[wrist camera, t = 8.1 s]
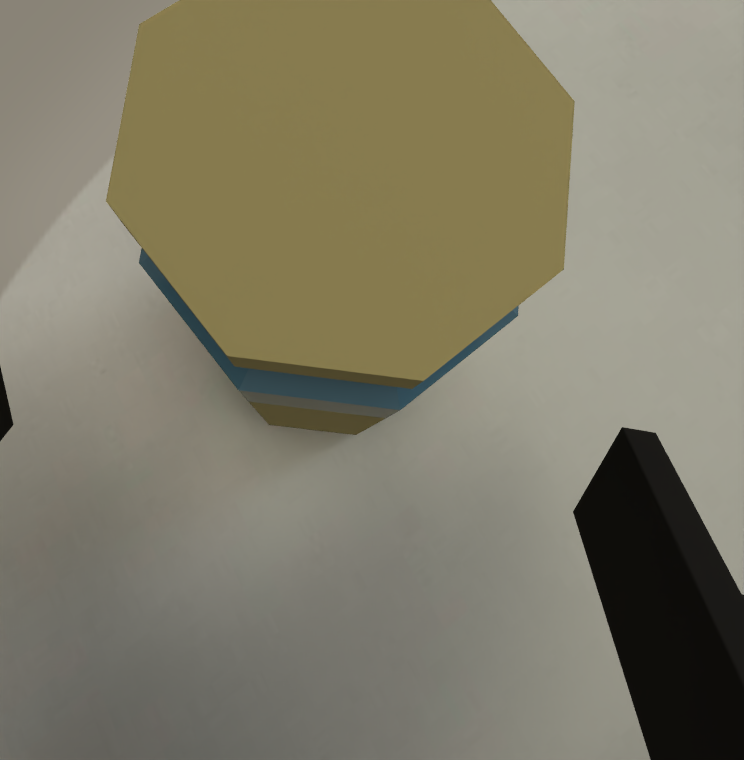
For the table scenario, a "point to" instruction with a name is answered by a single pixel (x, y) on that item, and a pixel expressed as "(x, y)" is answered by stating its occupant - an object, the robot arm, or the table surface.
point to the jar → (342, 191)
